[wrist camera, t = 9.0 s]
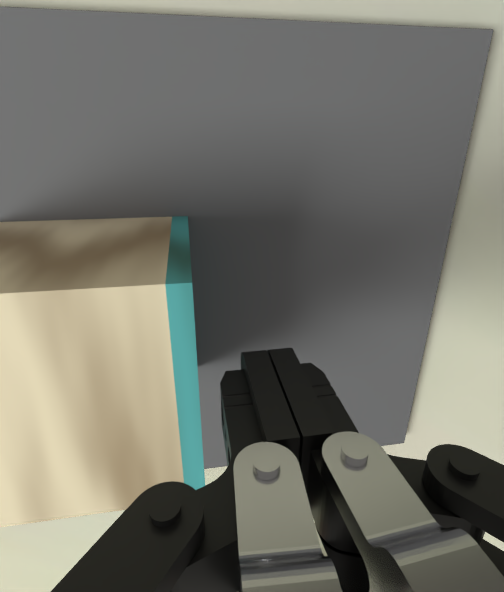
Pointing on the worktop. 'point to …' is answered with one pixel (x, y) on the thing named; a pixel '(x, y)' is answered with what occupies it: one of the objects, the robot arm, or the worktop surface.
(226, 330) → the rubber mat
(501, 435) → the worktop surface
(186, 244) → the birch cube
